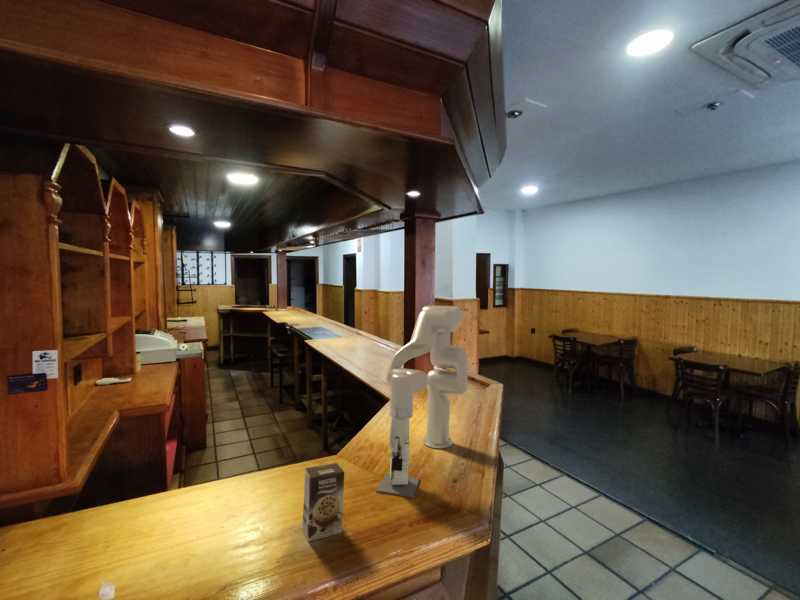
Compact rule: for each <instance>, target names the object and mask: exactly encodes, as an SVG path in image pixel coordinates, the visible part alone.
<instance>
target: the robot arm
mask: <svg viewBox="0 0 800 600" xmlns="http://www.w3.org/2000/svg"><path fill="white" fill-rule="evenodd" d="M416 318H417V319H416V322H415V324H414V328H413V332H412V334H411V337H410V341H409V342H407V344H405V345H403V346H402V347H401V348H400V349H399V350H398V351H396V353H395V354H394V355H393V357H392V359H391V361H390V364H389V367H388V370H387V373H386V383H387V386H388V387H389V388H390V391H389V393H390V400H389V417H390V418H391V420H390V427H389V440H388V441H389V442H388V448H389V449H390V450H391V448H393V445H394V448H393V456H392V470H395V471H402V458H401V457H402V450H403V449H404V448H405V443H406V440H407V438H408V436H409V437H410V419H411V418H413V415H414V414H413V412H414V409H413V407H414V394H417V393H421V392H423V391H424V390H425V389H427V412H426V413H427V418H426V436H425V437H424V438H423V439H422V443H423V445H425V446H426V447H429V448H432V449H447V448H450V447H452V446H453V440H452V439H451V438H450V437H449V436H450V413H451V412H450V411H451V409H450V408H451V403H450V399H449V398H448V396H447V394H450V395H457V396H463V395H464V394H465V393H466V392H467V390H468V389H467V388H468V377H469V376H468V368H469V367H468V366H469V359H468V358H469V357H468V351H467V349H466V348H465V347H463V346H460V345H452V343H451V333H452V332H454V331H455V330H457V329H458V328H460V326H461V325H462V324H463V319H464V313H463V310H462V308H461V307H460V306H453V305H425V306H423V308H422V309H421V311H420V313H418V315H417V317H416ZM428 353H430V355H429V356H430V363H431V365H432V366H434V367H438V368H447V369H448V370H447V369H432V370H430V371H428V372H427V373H426V372H425V371H423V370H420V369H412V368H404V367H403V365H404V364H405V363H406V362H408V361H409V360H412V359H414V358H417V357H420V356H422V355H425V354H428ZM449 369H454V370H455V371H454V370H449ZM398 446H400V447H401V448H398ZM398 450H400V454H399V452H398Z"/></svg>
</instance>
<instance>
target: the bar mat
mask: <svg viewBox="0 0 800 600" xmlns="http://www.w3.org/2000/svg"><path fill="white" fill-rule="evenodd" d="M420 480H421V478H419V477H415V476H414V477H413V476H408V484H402V485H391V483H390V473H385V474H384V476H383V477H382V479H381V481H380V483H379V484H378V486H377V488H376V489H375V493H379V494H384V495H386V494H387V495H393V496H399V497H405V498H414V497H415V495H416V492H417V489H418V486H419V483H420Z"/></svg>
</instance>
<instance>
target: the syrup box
mask: <svg viewBox="0 0 800 600" xmlns="http://www.w3.org/2000/svg"><path fill="white" fill-rule="evenodd" d="M410 443H411V441H410V435H409V436H408V438H407V440H406V443H405V448H404V449H403V450H402V457H401V458H402V471H395V470H392V456H393V448H394V445H393V448H391V449H390V463H389V464H390V465H389V466H390V467H389V469H390V471H389V474H390V483H391V485H402V484H408V477H409V466H410V465H409V464H410V462H409V461H410ZM398 448H401V447H400V446H398ZM398 452H399V454H400V450H398Z"/></svg>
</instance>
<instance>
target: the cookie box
mask: <svg viewBox="0 0 800 600" xmlns="http://www.w3.org/2000/svg"><path fill="white" fill-rule="evenodd" d="M344 485H345V471H344V469H343V468H342V467H341V466H340V465H339V463H338V462H335V463H329V464H323V465H317V466H312V467H311V466H310V467H305V469H304V488H303V490H304V492H303V506H302V530H303V533H304V536H305V538H306V541H307V542H313V541H316V540H320V539H323V538H328V537H333V536H335V535H339V534H342V532H343V516H344V514H343V513H344V511H343V510H344V490H345V489H344V488H345V486H344Z"/></svg>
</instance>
